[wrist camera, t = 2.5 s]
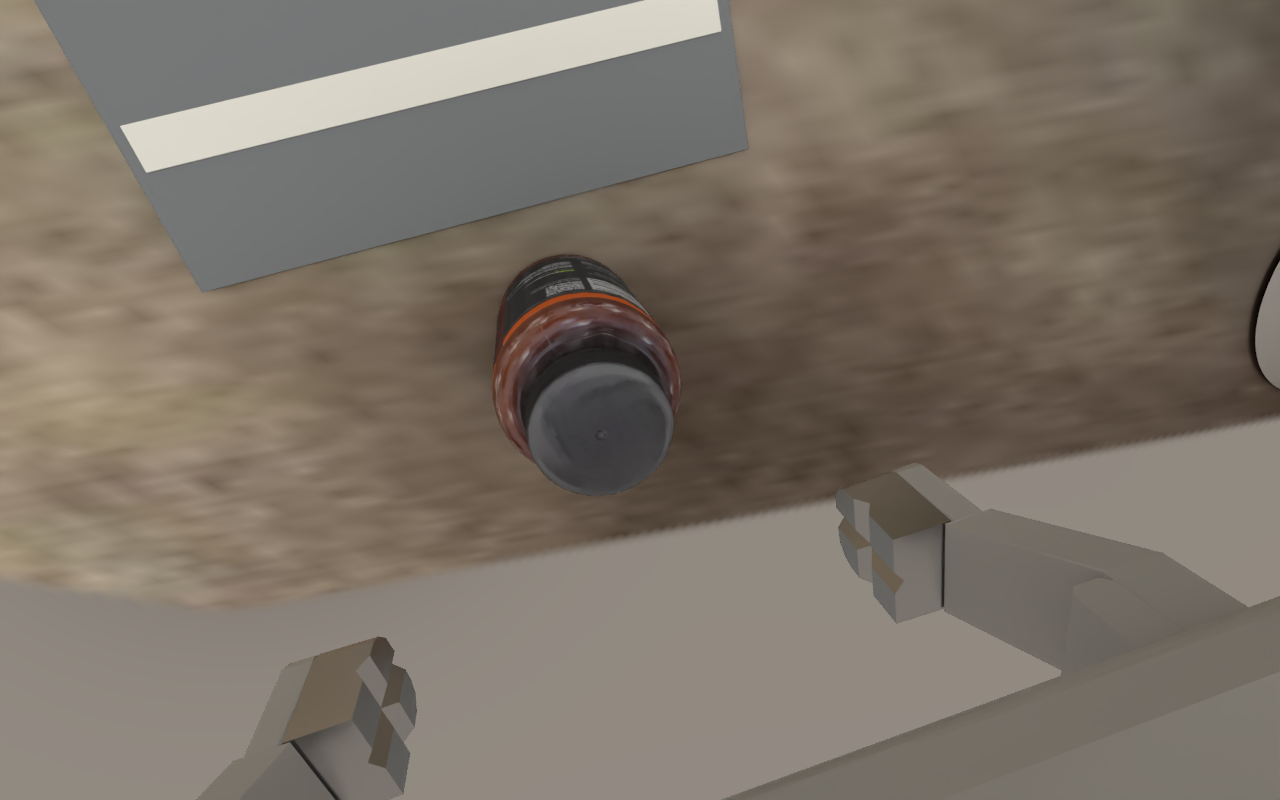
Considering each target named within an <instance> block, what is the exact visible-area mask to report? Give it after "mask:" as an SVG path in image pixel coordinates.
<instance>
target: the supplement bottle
mask: <svg viewBox="0 0 1280 800" xmlns="http://www.w3.org/2000/svg"><path fill="white" fill-rule="evenodd" d="M680 378H681V375H680V371H679V366H678V361H677V358H676V356H675V353H674V351H673V349H672V347H671V344H670V343H669V341H668V339H667V338H666V336H665V334H664V333H663V332H662V330H661V329H660V328H659V327H658V325H657V324H656V323H655V321H654V320H653V319H652V318H651V316H650V315H649V314H648V313H647V312H646V310H645V309H644V308H643V307H642V305H641V304H640V303H639V302H638V300H637V299H636V298H635V296H634V295H633V294H632V293H631V291H630V290H629V289H628V288H627V286H626V285H625V284H624V282H623V281H622V280H621V279H620V278H619V277H618V276H617V275H615V274H614V273H613V272H612V271H611V270H610V269H609V268H607V267H606V266H604V265H602V264H601V263H599V262H597V261H594V260H592V259H589V258H586V257H582V256H578V255H558V256H554V257H549V258H545V259H542V260H540V261H538V262H536V263H534V264H532V265H530V266H529V267H527V268H526V269H524V270H523V271H522V272H521V273H520V274H519V275H518V276H517V277H516V278H515V279H514V280H513V282H512V283H511V284H510V286H509V287H508V289H507V291H506V293H505V295H504V297H503V300H502V303H501V306H500V310H499V315H498V321H497V335H496V346H495V357H494V367H493V387H492V390H493V401H494V406H495V410H496V414H497V417H498V420H499V423H500V425H501V427H502V429H503V431H504V432H505V434H506V436H507V437H508V439H509V440H510V441H511V443H512V444H513V445H514V446H515V448H516V449H517V450H519V451H520V453H521V454H523V455H524V456H525V457H526V458H528V459H530V460H531V461H532V462H533V463H535V464H536V465H537V466H538V468H539V469H540V470H541V471H542V473H543V474H544V475H545V476H546V477H547V478H548V479H549V480H551V481H552V482H554V483H555V484H556V485H558V486H560V487H561V488H563V489H566V490H569V491H571V492H574V493H577V494H584V495H589V496H601V495H610V494H615V493H618V492H621V491H624V490H627V489H629V488H632V487H633V486H635V485H637V484H639V483H640V482H642V481H643V480H645V479H646V478H647V477H648V476H650V475H651V474H652V473H653V472H654V470H656V469H657V467H658V466H659V465H660V464H661V462H662V461H663V459H664V458H665V456H666V454H667V451H668V449H669V447H670V444H671V440H672V437H673V430H674V419H675V416H676V413H677V410H678V408H679V401H680V395H681V379H680Z"/></svg>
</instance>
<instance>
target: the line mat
mask: <svg viewBox="0 0 1280 800" xmlns="http://www.w3.org/2000/svg"><path fill="white" fill-rule="evenodd" d="M34 1H35V3H36V5H37V6H38V8H39V10H40V12H41V13H42V15H43V17H44V19H45V20H46V22H47V24H48V26H49V27H50V29H51V31H52V33H53V34H54V36H55V38H56V39H57V41H58V43H59V45H60V46H61V48H62V50H63V52H64V53H65V55H66V57H67V59H68V60H69V62H70V64H71V66H72V67H73V69H74V71H75V73H76V74H77V76H78V78H79V80H80V81H81V83H82V85H83V87H84V88H85V90H86V92H87V93H88V95H89V97H90V99H91V100H92V102H93V104H94V106H95V107H96V109H97V111H98V113H99V114H100V116H101V118H102V120H103V121H104V123H105V125H106V127H107V128H108V130H109V132H110V134H111V135H112V137H113V139H114V141H115V142H116V144H117V146H118V147H119V149H120V151H121V153H122V154H123V156H124V158H125V160H126V161H127V163H128V165H129V167H130V168H131V170H132V172H133V174H134V175H135V177H136V179H137V181H138V182H139V184H140V186H141V188H142V189H143V191H144V193H145V194H146V196H147V198H148V200H149V201H150V203H151V205H152V207H153V208H154V210H155V212H156V214H157V215H158V217H159V219H160V221H161V222H162V224H163V226H164V228H165V229H166V231H167V233H168V235H169V236H170V238H171V240H172V242H173V243H174V245H175V247H176V248H177V250H178V252H179V254H180V255H181V257H182V259H183V261H184V262H185V264H186V266H187V268H188V269H189V271H190V273H191V275H192V276H193V278H194V280H195V282H196V283H197V285H198V287H199V289H200V290H201V292H206V291H209V290H213V289H217V288H221V287H225V286H228V285H232V284H236V283H240V282H244V281H247V280H251V279H255V278H259V277H263V276H266V275H270V274H274V273H278V272H282V271H286V270H289V269H293V268H297V267H301V266H305V265H308V264H312V263H316V262H320V261H324V260H327V259H331V258H335V257H339V256H343V255H346V254H350V253H354V252H358V251H362V250H365V249H369V248H373V247H377V246H381V245H384V244H388V243H392V242H396V241H400V240H403V239H407V238H411V237H415V236H419V235H422V234H426V233H430V232H434V231H438V230H441V229H445V228H449V227H453V226H457V225H461V224H464V223H468V222H472V221H476V220H480V219H483V218H487V217H491V216H495V215H499V214H502V213H506V212H510V211H514V210H518V209H521V208H525V207H529V206H533V205H537V204H540V203H544V202H548V201H552V200H556V199H559V198H563V197H567V196H571V195H575V194H578V193H582V192H586V191H590V190H594V189H597V188H601V187H605V186H609V185H613V184H616V183H620V182H624V181H628V180H632V179H636V178H639V177H643V176H647V175H651V174H655V173H658V172H662V171H666V170H670V169H674V168H677V167H681V166H685V165H689V164H693V163H696V162H700V161H704V160H708V159H712V158H715V157H719V156H723V155H727V154H731V153H734V152H738V151H742V150H746V149H748V141H747V134H746V126H745V119H744V111H743V104H742V96H741V89H740V81H739V74H738V66H737V59H736V51H735V44H734V36H733V29H732V22H731V14H730V7H729V0H34Z"/></svg>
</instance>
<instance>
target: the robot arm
mask: <svg viewBox="0 0 1280 800" xmlns="http://www.w3.org/2000/svg"><path fill="white" fill-rule="evenodd" d="M1255 346H1256V355H1257V359H1258V363H1259V366H1260V368H1261V370H1262V372H1263V374H1264V376H1265V377H1266V378H1267V379H1268V380H1269V381H1270V382H1271V383H1272V384H1273V385H1274V386H1276V387H1277V388H1279V389H1280V261H1279V263H1278V265H1277V267H1276V269H1275V271H1274V273H1273V275H1272V277H1271V280H1270V282H1269V284H1268V287H1267V289H1266V292H1265V294H1264V297H1263V300H1262V303H1261V307H1260V310H1259V315H1258V319H1257V326H1256V335H1255ZM836 507H837V509H838V510H839V511H840V512H841V513H842V515H843V516H844V518H843V520H842V522H841V524H840V526H839V527H838V528H839V536H840V543H841V545H842V548H843V551H844V554H845V557H846V558H847V560H848V562H849V564H850V566H851V567H852V568H853V570H854V571H855V572H856V574H857V575H858V576H859V577H860V578H862V579H864V580H867V581H870V582H872V583H873V591H874V592H873V593H874V596H875V598H876V599H877V600H878V601H879V603H880V604H881V605H882V606H883V608H884V609H885V610H886V611H887V612H888V614H889V615H890V616H891V617H892V619H893V620H894V621H895V622H896V623H900V622H903V621H906V620H909V619H913V618H916V617H919V616H922V615H925V614H928V613H932V612H935V611H938V610H941V609H944V611H945V612H947V613H949V614H951V615H953V616H955V617H957V618H959V619H961V620H963V621H965V622H967V623H968V624H970V625H972V626H975V627H977V628H978V629H980V630H982V631H984V632H987V633H988V634H990V635H992V636H994V637H997V638H998V639H1000V640H1002V641H1005V642H1006V643H1008V644H1010V645H1012V646H1014V647H1016V648H1018V649H1020V650H1022V651H1024V652H1026V653H1028V654H1030V655H1032V656H1034V657H1036V658H1038V659H1040V660H1042V661H1044V662H1046V663H1048V664H1050V665H1052V666H1054V667H1056V668H1058V669H1060V670H1061V676H1060V677H1057V678H1054V679H1051V680H1049V681H1046V682H1043V683H1040V684H1038V685H1035V686H1032V687H1029V688H1027V689H1024V690H1021V691H1018V692H1015V693H1013V694H1010V695H1007V696H1004V697H1002V698H999V699H996V700H994V701H991V702H988V703H986V704H983V705H980V706H977V707H974V708H972V709H969V710H966V711H963V712H961V713H958V714H955V715H953V716H950V717H947V718H944V719H941V720H939V721H936V722H933V723H931V724H928V725H925V726H922V727H920V728H917V729H914V730H911V731H909V732H906V733H903V734H900V735H897V736H895V737H892V738H890V739H887V740H884V741H881V742H878V743H876V744H873V745H870V746H867V747H865V748H862V749H859V750H856V751H854V752H851V753H848V754H846V755H843V756H840V757H837V758H834V759H832V760H829V761H826V762H823V763H821V764H818V765H815V766H812V767H810V768H807V769H804V770H801V771H799V772H796V773H793V774H790V775H788V776H785V777H782V778H780V779H777V780H774V781H771V782H769V783H766V784H763V785H761V786H758V787H755V788H752V789H749V790H747V791H744V792H741V793H738V794H736V795H733V796H730V797H727V798H725V799H722V800H1280V596H1279V597H1277V598H1274V599H1271V600H1268V601H1266V602H1263V603H1260V604H1257V605H1254V606H1252V607H1247V606H1246V605H1244V604H1242V603H1241V602H1239V601H1237V600H1236V599H1234V598H1233V597H1231V596H1230V595H1228V594H1226V593H1225V592H1223V591H1222V590H1220V589H1219V588H1217V587H1216V586H1214V585H1212V584H1211V583H1209V582H1208V581H1206V580H1204V579H1203V578H1201V577H1199V576H1198V575H1196V574H1195V573H1193V572H1192V571H1190V570H1188V569H1187V568H1185V567H1184V566H1182V565H1181V564H1179V563H1177V562H1176V561H1174V560H1173V559H1171V558H1170V557H1168V556H1167V555H1165V554H1163V553H1161V552H1157V551H1153V550H1149V549H1145V548H1141V547H1137V546H1133V545H1129V544H1125V543H1122V542H1118V541H1114V540H1110V539H1106V538H1102V537H1098V536H1094V535H1090V534H1086V533H1082V532H1079V531H1074V530H1071V529H1067V528H1063V527H1059V526H1055V525H1051V524H1047V523H1043V522H1040V521H1036V520H1032V519H1028V518H1024V517H1020V516H1016V515H1012V514H1009V513H1004V512H1001V511H997V510H993V509H989V510H986V511H981V510H980V509H979V508H977V507H976V506H975V505H974V504H972V503H971V502H970V501H968V500H967V499H966V498H965V497H963V496H962V495H961V494H959V493H958V492H957V491H956V490H954V489H953V488H952V487H950V486H949V485H948V484H946V483H945V482H944V481H943V480H941V479H940V478H939V477H937V476H936V475H935V474H934V473H932V472H931V471H930V470H928V469H927V468H926V467H924V466H923V465H922V464H918V463H912V464H909V465H906V466H904V467H901V468H898V469H895V470H892V471H889V473H885V474H882V475H879V476H876V477H873V478H870V479H867V480H864V481H861V482H858V483H855V484H852V485H849V486H846V487H842V488H839V489H837V493H836ZM393 656H394V650H393V648H392V647H391V645H390V644H389V642H388V641H387V639H386V638H384V637H376V638H372V639H369V640H365V641H362V642H359V643H355V644H352V645H349V646H346V647H342V648H339V649H335V650H332V651H329V652H325V653H322V654H320V655H318V656H313V657H310V658H307V659H304V660H300V661H297V662H294V663H290V664H289V665H288V666H286V667H285V668H284V669H283V670H282V671H281V673H280V676H279V678H278V680H277V682H276V685H275V687H274V689H273V692H272V694H271V696H270V699H269V701H268V703H267V705H266V708H265V710H264V712H263V715H262V717H261V719H260V721H259V724H258V726H257V728H256V730H255V733H254V735H253V737H252V739H251V742H250V744H249V746H248V748H247V751H246V753H245V756H244V758H241V759H238V760H235V761H233V762H232V763H231V764H230V765H229V766H228V767H227V768H226V769H225V770H224V771H223V772H222V773H221V774H220V775H219V776H218V777H217V778H216V779H215V780H214V781H213V783H212V784H211V785H210V786H209V787H208V788H207V789H206V790H205V791H204V792H203V793H202V794H201V795H200V796H199V797H198V798H197V799H196V800H389V799H392V798H394V797H397V796H400V795H403V793H404V787H405V781H406V775H407V769H408V764H409V757H410V752H409V750H408V749H407V747H406V746H405V744H404V741H405V740H406V738H407V737H408V735H409V734H410V733H411V731H412V730H413V729H414V727H415V720H416V713H417V709H416V708H417V707H416V695H415V690H414V687H413V684H412V681H411V679H410V677H409V675H408V673H407V672H406V670H405V669H403V668H401V667H398V666H396V665H394V664H392V661H393Z"/></svg>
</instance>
